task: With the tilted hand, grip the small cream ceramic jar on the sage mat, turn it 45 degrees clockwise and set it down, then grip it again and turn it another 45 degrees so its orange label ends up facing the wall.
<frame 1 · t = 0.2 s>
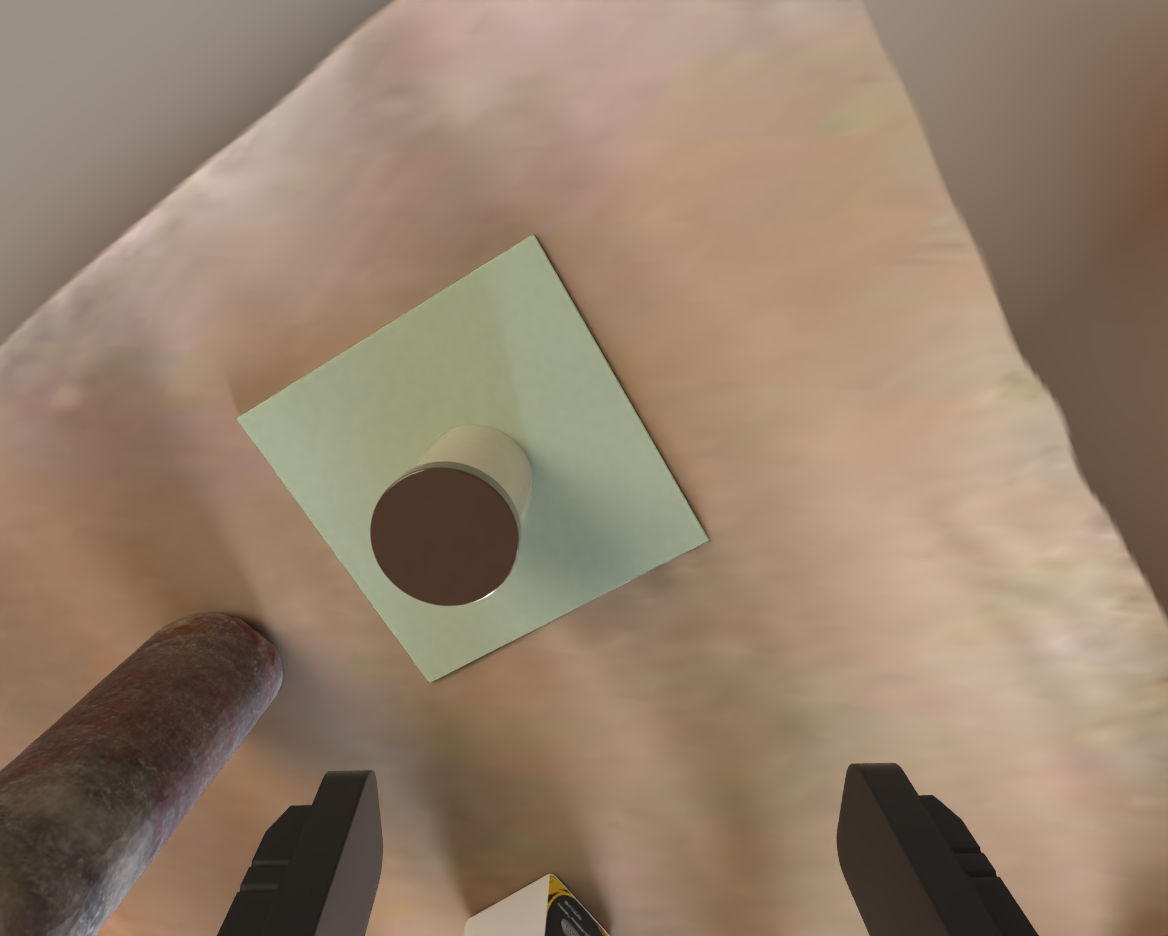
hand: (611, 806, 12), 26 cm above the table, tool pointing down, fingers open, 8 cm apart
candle: (222, 660, 43), on the table
desk mat: (477, 478, 39), on the table
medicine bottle: (541, 926, 48), on the table
jar: (476, 480, 38), resting on desk mat
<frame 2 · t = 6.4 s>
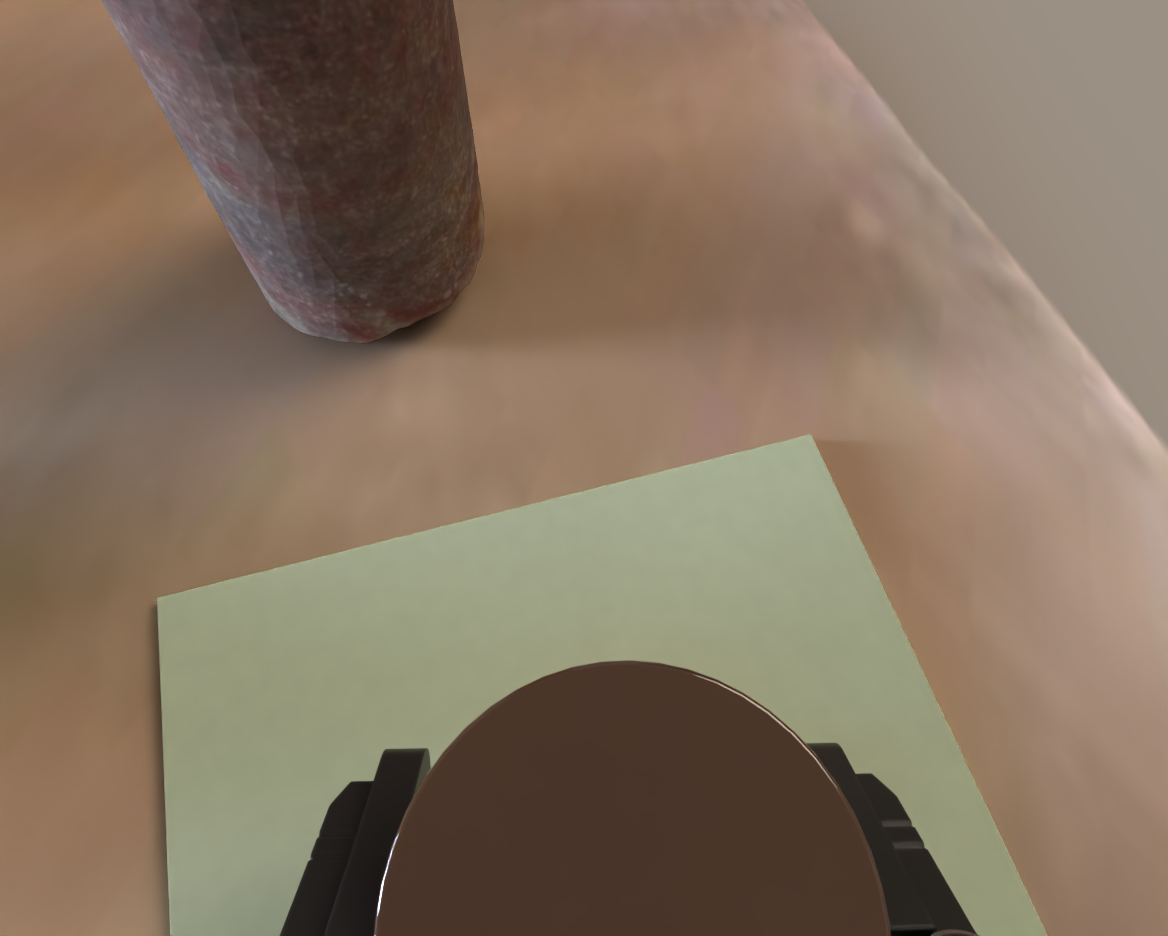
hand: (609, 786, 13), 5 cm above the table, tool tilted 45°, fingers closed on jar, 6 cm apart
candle: (376, 257, 24), on the table
desk mat: (599, 875, 16), on the table
jar: (600, 876, 16), resting on desk mat, touching gripper
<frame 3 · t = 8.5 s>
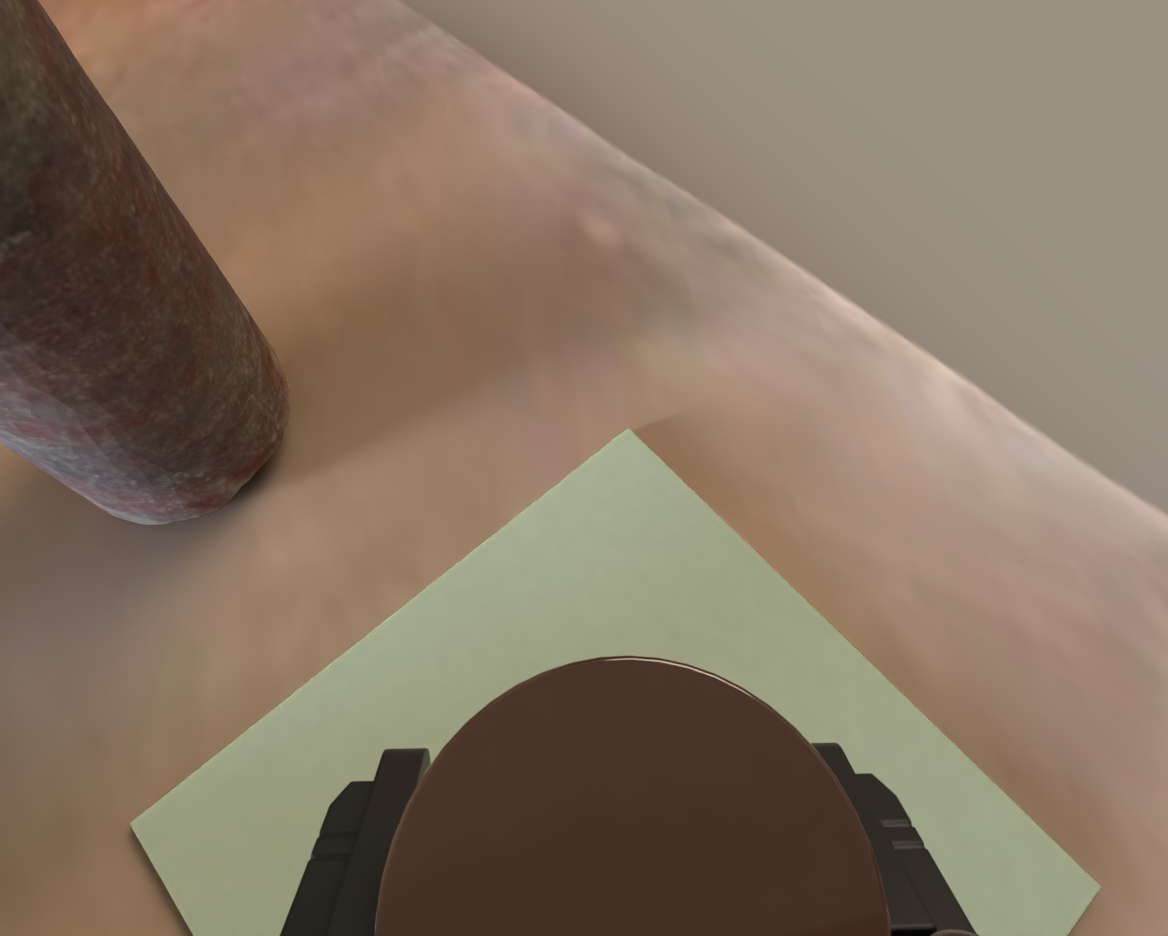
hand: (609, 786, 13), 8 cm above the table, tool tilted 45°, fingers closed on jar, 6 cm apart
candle: (189, 426, 25), on the table
desk mat: (611, 854, 19), on the table
jar: (600, 872, 16), point 4 cm above the table, touching gripper
when the fingers open (5 cm above the table, at t = 10.7 s): jar stays where it is, resting on desk mat.
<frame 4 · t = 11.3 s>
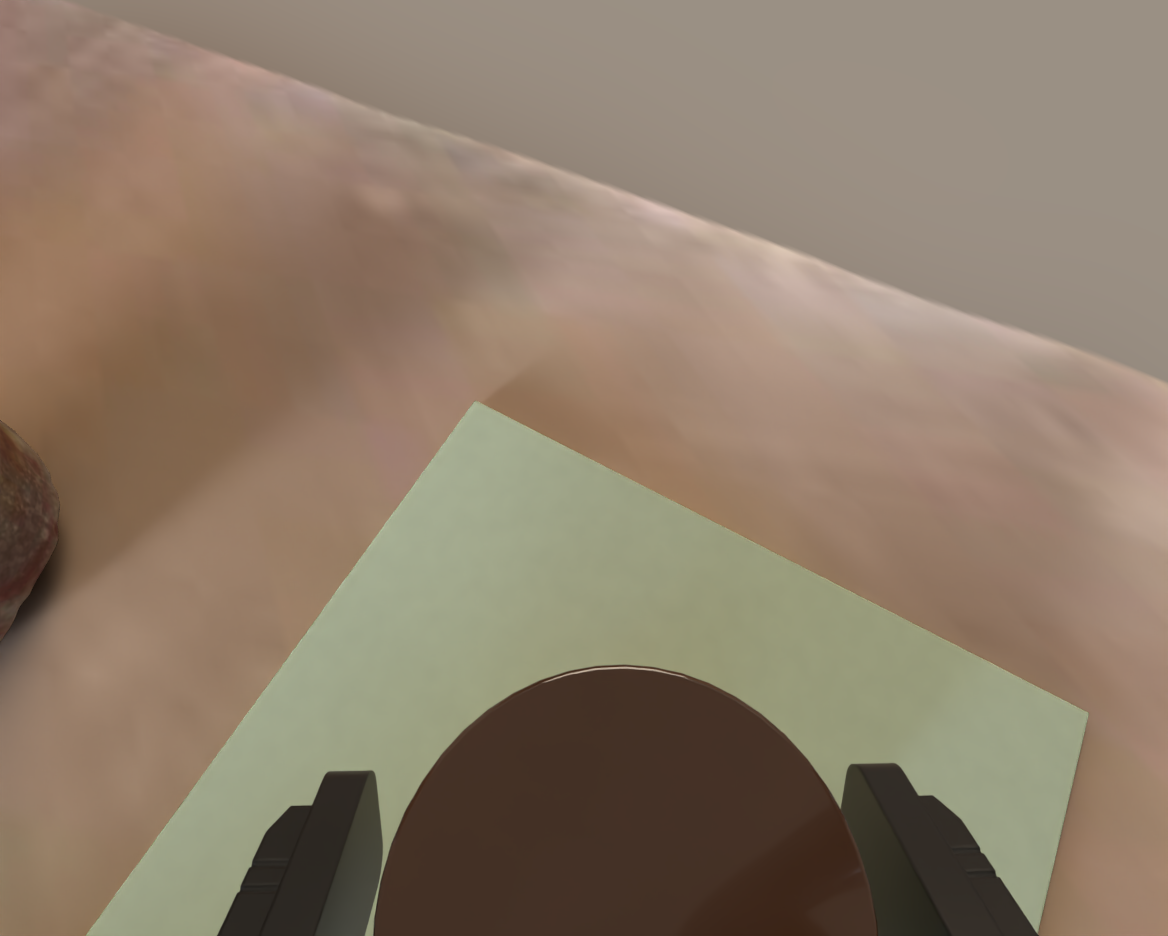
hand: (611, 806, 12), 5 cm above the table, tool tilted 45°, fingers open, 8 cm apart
desk mat: (597, 874, 17), on the table
jar: (597, 876, 16), resting on desk mat
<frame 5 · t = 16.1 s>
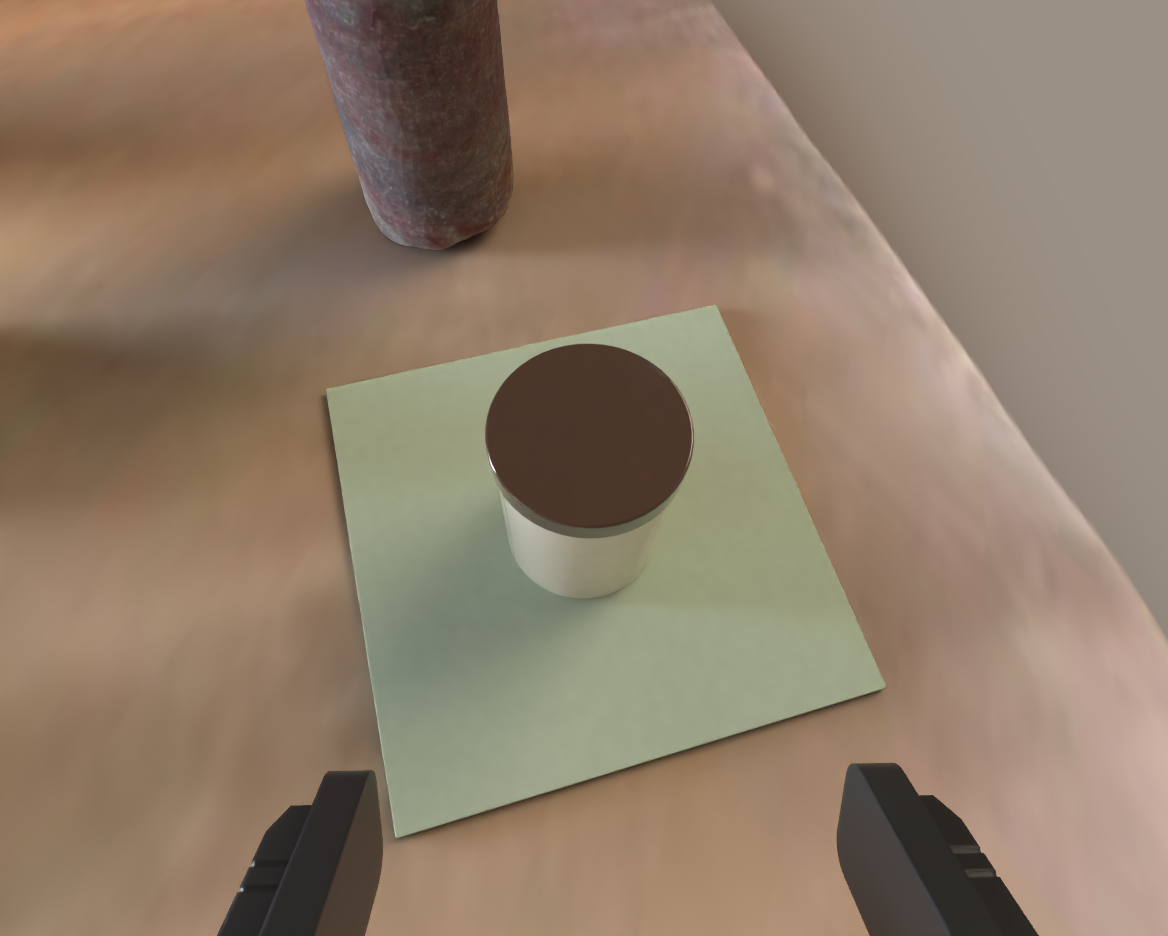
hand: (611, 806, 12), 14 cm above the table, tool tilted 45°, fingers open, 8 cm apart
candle: (442, 200, 37), on the table
desk mat: (583, 528, 29), on the table
jar: (582, 525, 29), resting on desk mat
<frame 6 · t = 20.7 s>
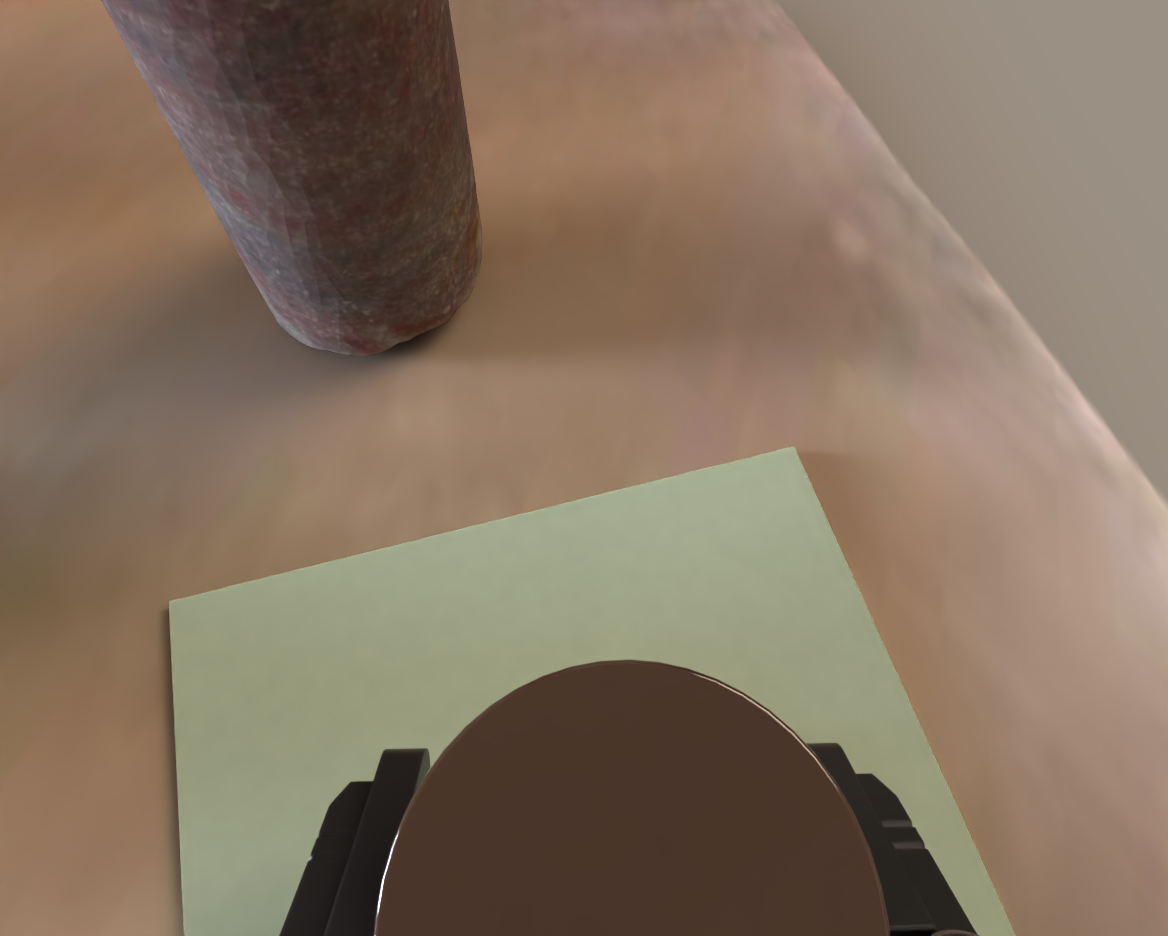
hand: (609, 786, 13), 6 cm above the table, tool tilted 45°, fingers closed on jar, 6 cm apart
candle: (377, 272, 25), on the table
desk mat: (589, 866, 17), on the table
jar: (600, 876, 16), point 1 cm above the table, touching gripper
when the fingers open (5 cm above the table, at t = 24.0 s): jar stays where it is, resting on desk mat.
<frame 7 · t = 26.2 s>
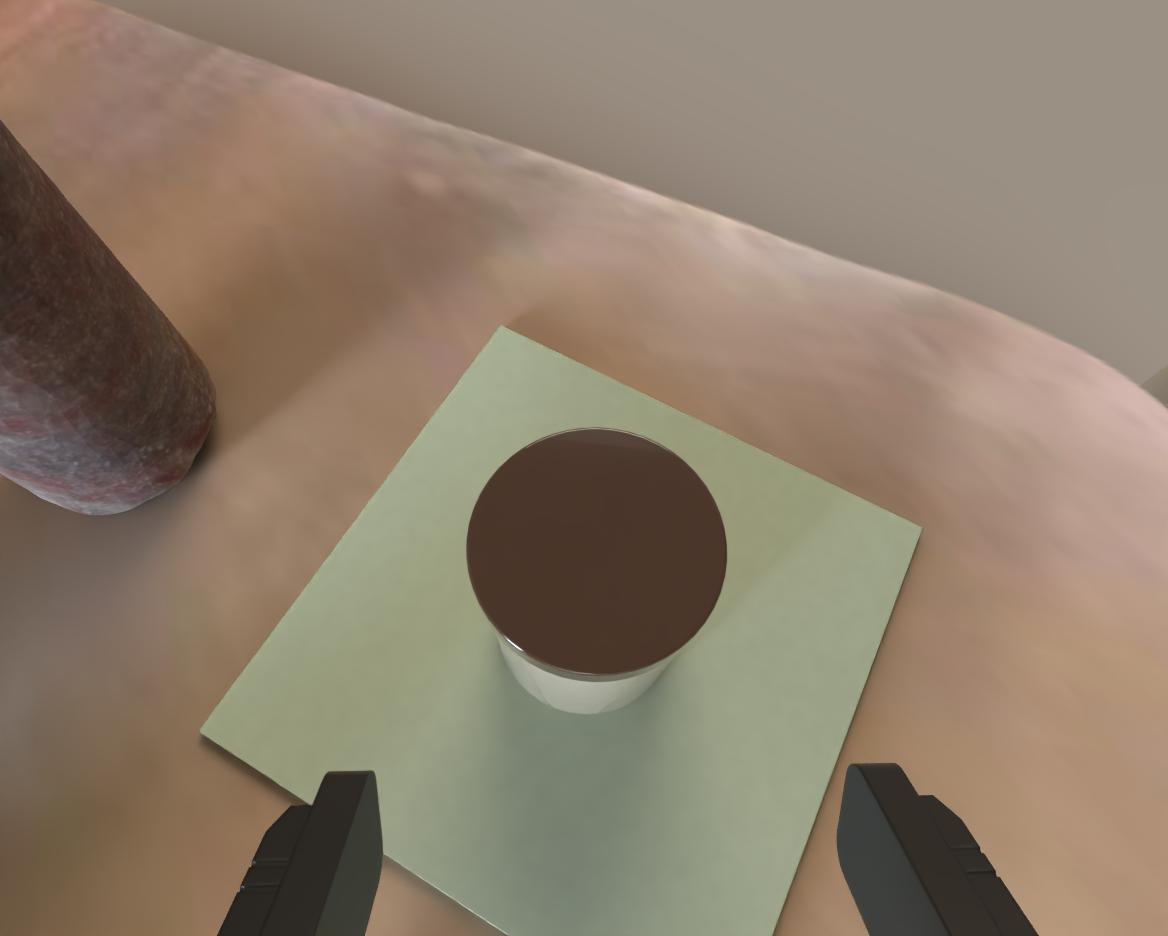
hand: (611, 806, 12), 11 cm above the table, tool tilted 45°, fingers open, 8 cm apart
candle: (125, 428, 28), on the table
desk mat: (587, 623, 25), on the table
jar: (586, 621, 25), resting on desk mat
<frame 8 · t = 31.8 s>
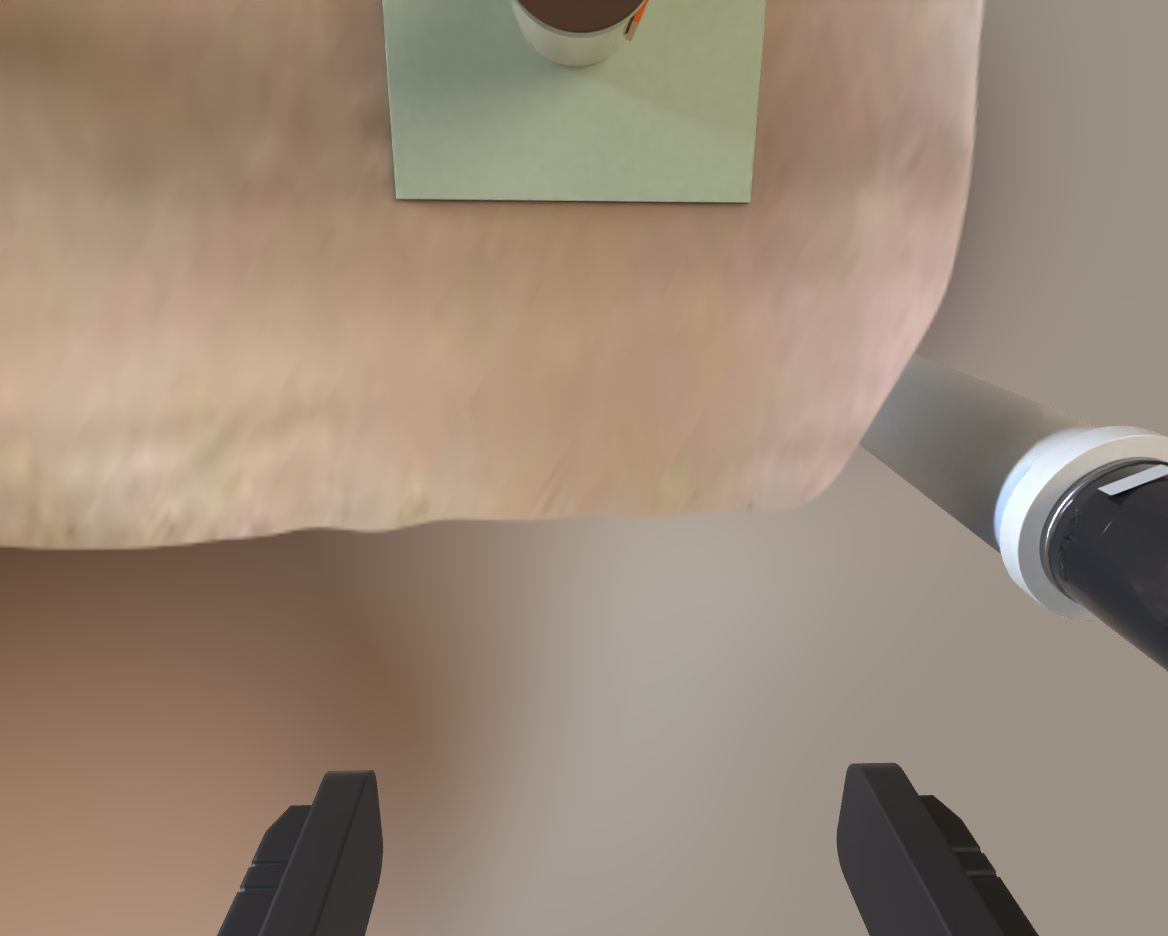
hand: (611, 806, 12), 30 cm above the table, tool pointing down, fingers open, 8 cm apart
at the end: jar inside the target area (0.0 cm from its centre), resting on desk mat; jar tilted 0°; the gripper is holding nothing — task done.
